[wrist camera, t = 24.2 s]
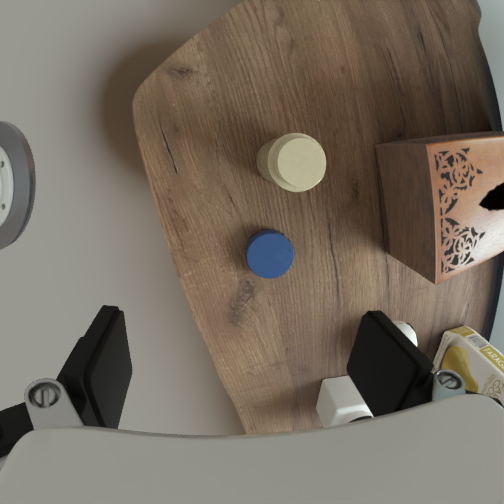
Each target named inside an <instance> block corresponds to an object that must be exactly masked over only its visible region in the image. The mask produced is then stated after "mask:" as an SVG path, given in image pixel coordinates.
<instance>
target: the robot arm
mask: <svg viewBox="0 0 504 504" xmlns="http://www.w3.org/2000/svg"><path fill="white" fill-rule="evenodd" d="M13 190H14V185H13V172H12V167H11V163H10V160H9V158H8V155H7V154H6V152H5V151H4V149H3V148H2V147H1V146H0V226H1V225H2V224H3V223H4V221H5V220H6V218H7V216H8V214H9V211H10V208H11V204H12V199H13ZM433 367H434V364H433V363H432V362H431V361H430V360H429V359H428V358H427V357H426V356H425V355H424V354H423V353H422V352H421V351H420V350H419V349H418V348H417V346H416V345H415V344H414V343H413V342H412V341H411V340H410V339H409V338H408V337H407V336H406V335H405V334H404V333H403V332H402V331H401V330H400V329H399V328H398V327H397V326H396V325H395V324H394V323H393V322H392V321H391V320H390V319H389V318H388V317H387V316H386V315H385V314H384V313H383V312H382V311H380V310H378V311H368V312H366V314H365V315H363V316H362V319H361V322H360V326H359V329H358V333H357V336H356V339H355V342H354V345H353V349H352V352H351V355H350V358H349V361H348V364H347V373H348V375H349V377H350V378H351V380H352V382H353V383H354V385H355V387H356V388H357V390H358V392H359V393H360V395H361V397H362V398H363V400H364V402H365V403H366V405H367V407H368V408H369V410H370V412H371V413H372V415H373V417H374V418H369V419H365V420H360V421H355V422H350V423H345V424H340V425H334V426H328V427H322V428H315V429H308V430H300V431H291V432H281V433H269V434H254V435H229V436H228V435H226V436H205V435H178V434H161V433H148V432H138V431H129V430H121V429H118V425H119V421H120V417H121V413H122V409H123V405H124V401H125V398H126V394H127V390H128V387H129V383H130V379H131V375H132V364H131V358H130V352H129V346H128V340H127V333H126V326H125V319H124V312H123V311H120V310H119V308H118V306H107V305H103V306H102V308H101V309H100V311H99V312H98V314H97V316H96V317H95V319H94V320H93V322H92V324H91V325H90V327H89V329H88V330H87V332H86V334H85V335H84V337H81V338H80V339H79V340H78V342H77V343H76V345H75V347H74V348H73V350H72V352H71V354H70V355H69V357H68V359H67V361H66V362H65V364H64V366H63V368H62V370H61V371H60V373H59V375H58V377H57V379H56V380H54V379H50V378H44V379H39V380H36V381H34V382H32V383H31V384H30V385H29V386H28V387H27V389H26V390H25V393H24V398H25V402H24V403H21V404H18V405H15V406H13V407H10V408H7V409H4V410H2V411H0V504H504V406H503V405H502V403H501V401H500V400H499V399H497V398H493V397H489V396H486V395H482V394H479V393H476V392H472V391H469V390H466V389H465V382H464V380H463V378H462V377H461V376H460V375H459V374H458V373H456V372H454V371H452V370H449V369H439V370H437V371H436V372H435V373H434V374H433V373H432V372H431V371H432V369H433Z"/></svg>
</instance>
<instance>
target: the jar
mask: <svg viewBox="0 0 504 504" xmlns="http://www.w3.org/2000/svg"><path fill="white" fill-rule="evenodd" d="M256 165H257V169H258V171H259V173H260V174H261V176H262V177H263V178H264V179H265V180H267V181H269V182H271V183H273V184H275V185H277V186H279V187H281V188H283V189H286V190H288V191H292V192H303V191H307V190H309V189H311V188H313V187H314V186H315V185H317V184H318V183H319V182H320V181H321V180H322V178H323V176H324V172H325V169H326V158H325V154H324V151H323V149H322V147H321V146H320V144H319V143H318V142H317V141H316V140H315V139H313V138H312V137H310V136H308V135H306V134H302V133H290V134H287V135H284V136H281V137H278V138H276V139H273V140H270V141H268V142H266V143H265V144H264V145H263V146H262V147H261V148H260V150H259V151H258V154H257V158H256Z"/></svg>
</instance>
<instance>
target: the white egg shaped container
mask: <svg viewBox="0 0 504 504" xmlns="http://www.w3.org/2000/svg"><path fill="white" fill-rule="evenodd" d="M391 321H392V322H393V323H394V324H395V325H396V326H397V327H398V328H399V329H400V330H401V331H402V332H403V333H404V334H405V335H406V336H407V337H408V338H409V339H410V340H411V341H412V342H413V343H414V344H415V345H416V346H417V338H416V334H415V332H414V329H413V327H412V326H411V325H410V324H409V323H405V322H402V321H399V320H391Z"/></svg>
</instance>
